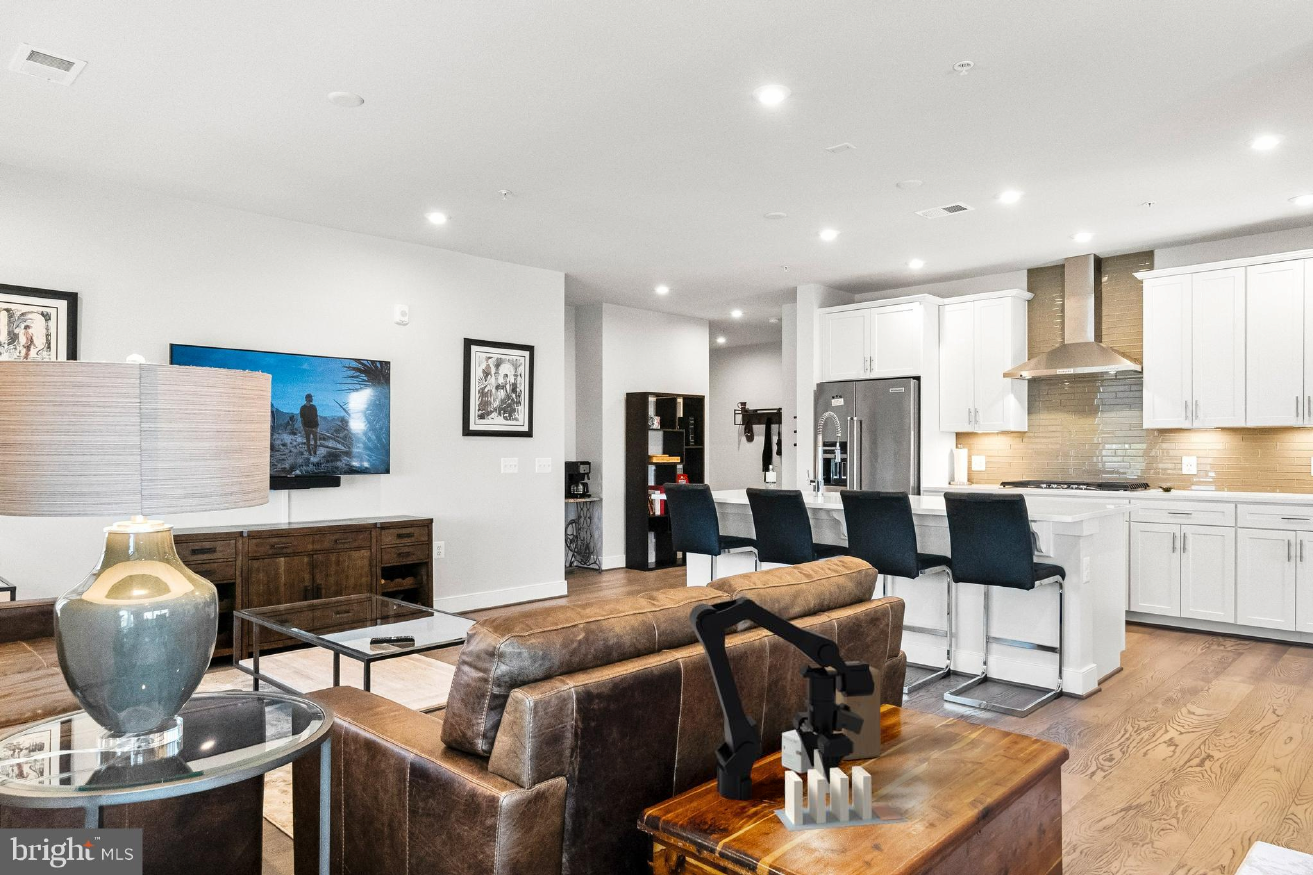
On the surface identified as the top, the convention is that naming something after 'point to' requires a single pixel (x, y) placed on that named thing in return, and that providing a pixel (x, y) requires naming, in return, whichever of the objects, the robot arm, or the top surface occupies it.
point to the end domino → (820, 768)
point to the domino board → (879, 816)
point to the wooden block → (869, 710)
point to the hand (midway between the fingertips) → (822, 774)
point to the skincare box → (794, 753)
